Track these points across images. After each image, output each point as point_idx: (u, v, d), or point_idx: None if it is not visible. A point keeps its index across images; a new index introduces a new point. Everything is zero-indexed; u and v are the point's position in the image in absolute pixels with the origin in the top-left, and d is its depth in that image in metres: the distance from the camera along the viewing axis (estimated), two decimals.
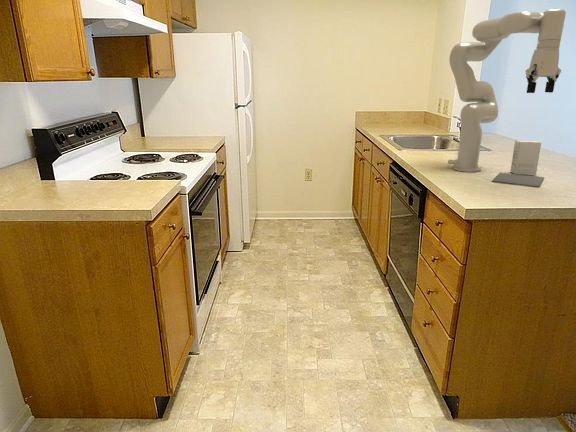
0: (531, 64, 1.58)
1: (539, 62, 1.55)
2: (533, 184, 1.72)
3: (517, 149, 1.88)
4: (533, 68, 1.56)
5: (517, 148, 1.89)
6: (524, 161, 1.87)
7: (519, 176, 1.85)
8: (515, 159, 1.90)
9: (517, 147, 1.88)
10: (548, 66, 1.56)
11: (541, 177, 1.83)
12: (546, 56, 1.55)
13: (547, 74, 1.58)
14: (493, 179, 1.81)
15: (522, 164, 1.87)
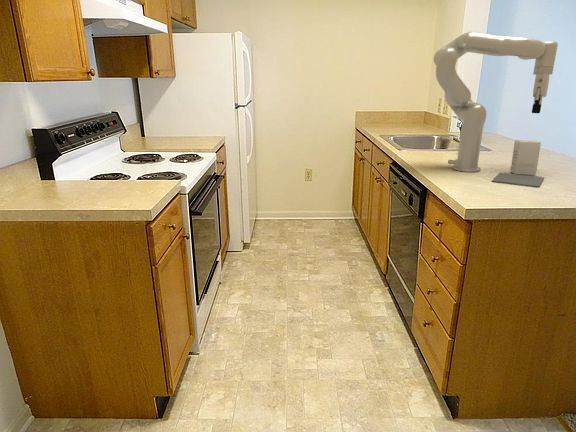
0: None
1: None
2: (533, 184, 1.72)
3: (517, 149, 1.88)
4: None
5: (516, 148, 1.89)
6: (524, 160, 1.87)
7: (519, 176, 1.85)
8: (515, 159, 1.90)
9: (517, 147, 1.88)
10: None
11: (541, 177, 1.83)
12: None
13: (533, 95, 1.90)
14: (493, 179, 1.81)
15: (522, 163, 1.88)
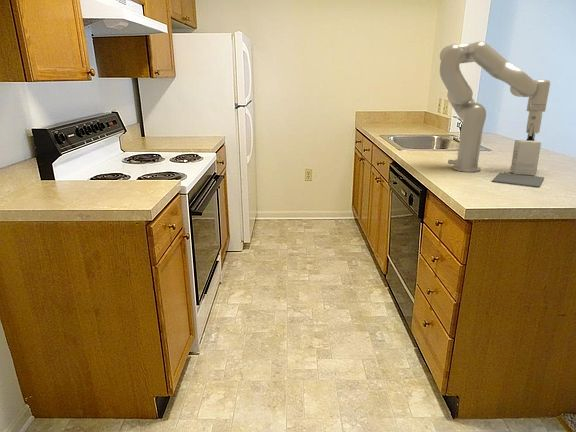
0: None
1: None
2: (533, 184, 1.72)
3: (517, 149, 1.88)
4: None
5: (516, 148, 1.89)
6: (524, 160, 1.87)
7: (519, 176, 1.85)
8: (515, 159, 1.90)
9: (517, 147, 1.88)
10: None
11: (541, 177, 1.83)
12: None
13: None
14: (493, 179, 1.81)
15: (522, 164, 1.87)
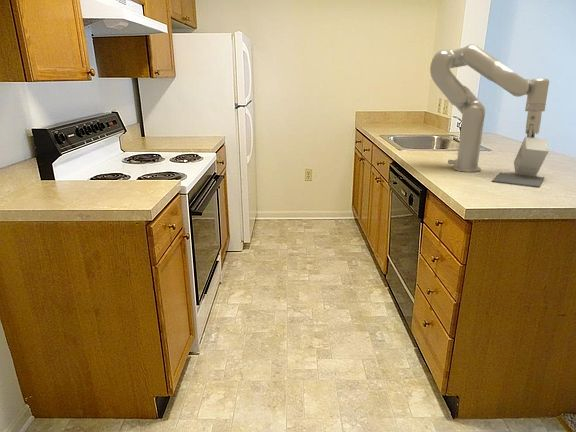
0: None
1: None
2: (533, 184, 1.72)
3: (523, 153, 1.82)
4: None
5: (522, 151, 1.82)
6: (527, 164, 1.84)
7: (519, 176, 1.85)
8: (519, 159, 1.86)
9: (523, 150, 1.82)
10: None
11: (541, 177, 1.83)
12: None
13: (526, 131, 1.88)
14: (493, 179, 1.81)
15: (525, 167, 1.85)
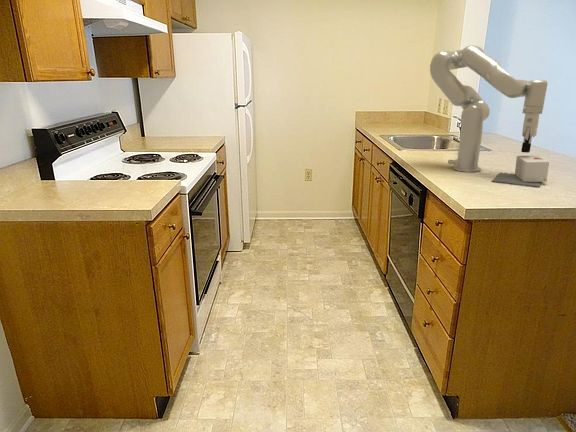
0: None
1: None
2: (533, 184, 1.72)
3: (521, 176, 1.79)
4: None
5: (521, 174, 1.78)
6: None
7: None
8: (518, 171, 1.83)
9: (522, 175, 1.78)
10: None
11: None
12: None
13: None
14: (493, 179, 1.81)
15: None
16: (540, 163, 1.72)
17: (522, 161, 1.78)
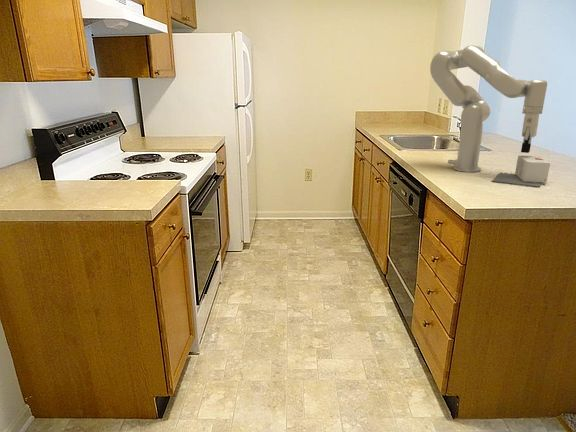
0: None
1: None
2: (533, 184, 1.72)
3: (521, 176, 1.79)
4: None
5: (522, 174, 1.78)
6: None
7: None
8: (519, 171, 1.83)
9: (522, 175, 1.78)
10: None
11: None
12: None
13: (522, 133, 1.83)
14: (493, 179, 1.81)
15: None
16: (541, 164, 1.72)
17: (523, 161, 1.78)
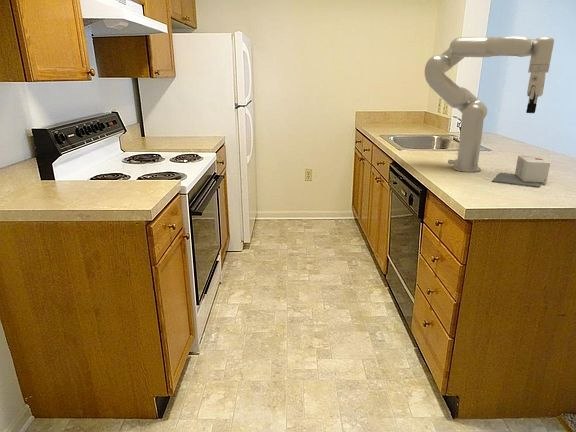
0: None
1: None
2: (533, 184, 1.72)
3: (521, 176, 1.79)
4: None
5: (522, 174, 1.78)
6: None
7: None
8: (519, 171, 1.83)
9: (522, 175, 1.78)
10: None
11: None
12: None
13: (528, 94, 1.81)
14: (493, 179, 1.81)
15: None
16: (541, 164, 1.72)
17: (523, 161, 1.78)
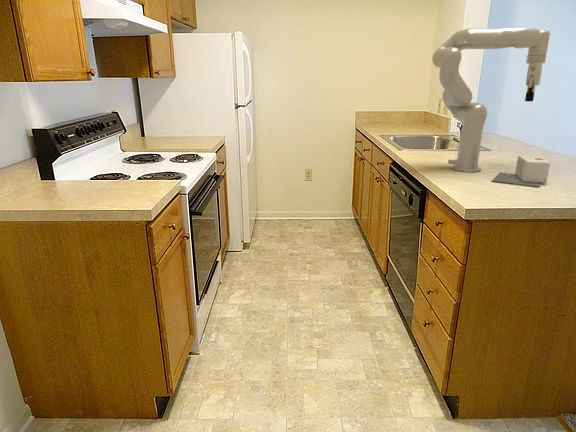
0: None
1: None
2: (533, 184, 1.72)
3: (521, 176, 1.79)
4: None
5: (522, 174, 1.78)
6: None
7: None
8: (519, 171, 1.83)
9: (522, 175, 1.78)
10: None
11: None
12: None
13: (526, 83, 1.94)
14: (493, 179, 1.81)
15: None
16: (541, 164, 1.72)
17: (523, 161, 1.78)
